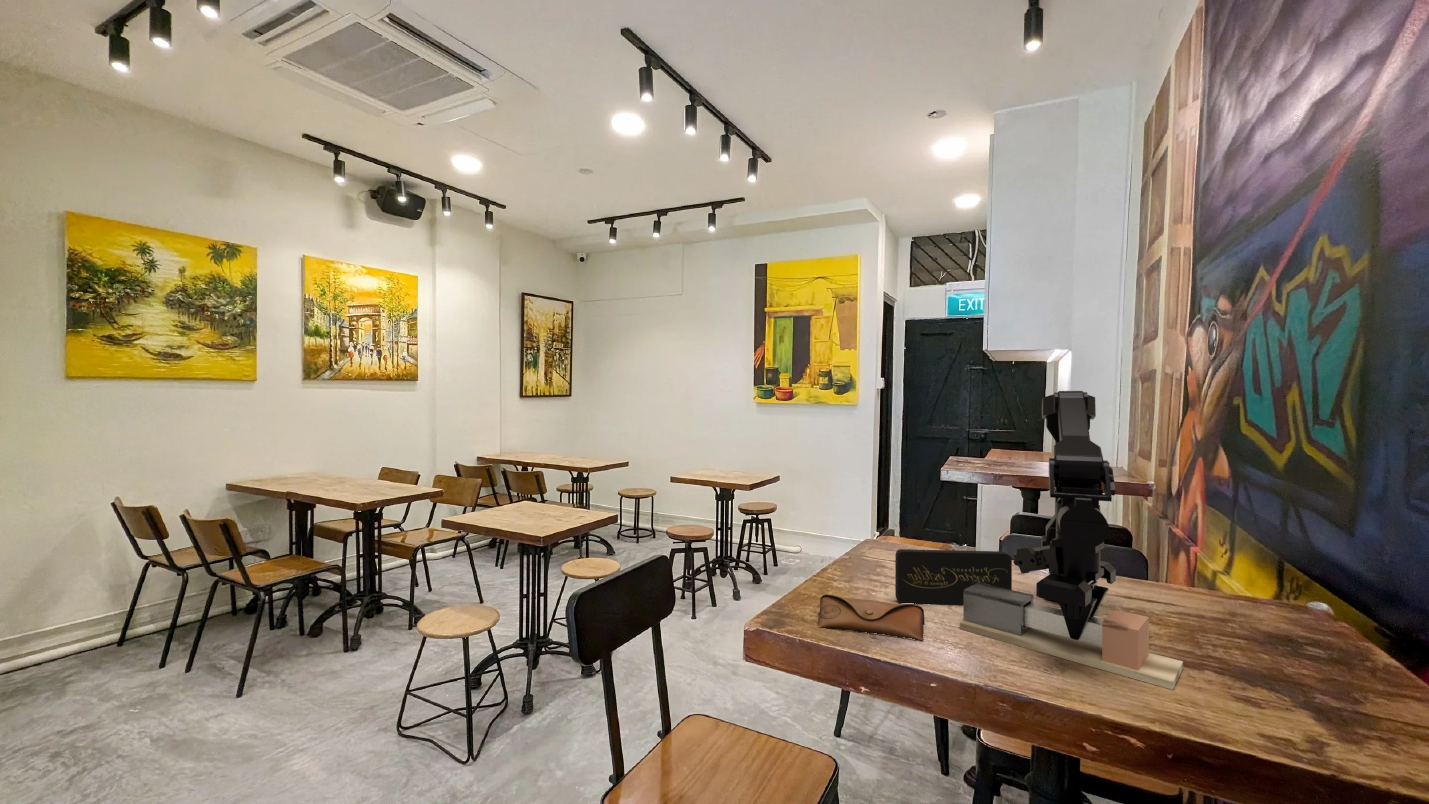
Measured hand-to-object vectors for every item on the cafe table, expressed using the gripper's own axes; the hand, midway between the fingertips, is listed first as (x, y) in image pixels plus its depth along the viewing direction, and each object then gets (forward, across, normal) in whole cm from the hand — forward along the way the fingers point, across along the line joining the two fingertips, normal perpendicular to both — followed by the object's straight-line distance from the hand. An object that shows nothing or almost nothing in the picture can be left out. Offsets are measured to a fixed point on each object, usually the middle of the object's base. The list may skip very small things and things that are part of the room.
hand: (1077, 636), depth 86 cm
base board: (+2, 0, -2) cm, 3 cm away
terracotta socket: (+1, 0, +6) cm, 6 cm away
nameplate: (+3, -7, -22) cm, 23 cm away
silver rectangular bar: (0, 0, -3) cm, 3 cm away
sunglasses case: (+3, +14, -27) cm, 31 cm away
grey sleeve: (+1, 0, -12) cm, 12 cm away
